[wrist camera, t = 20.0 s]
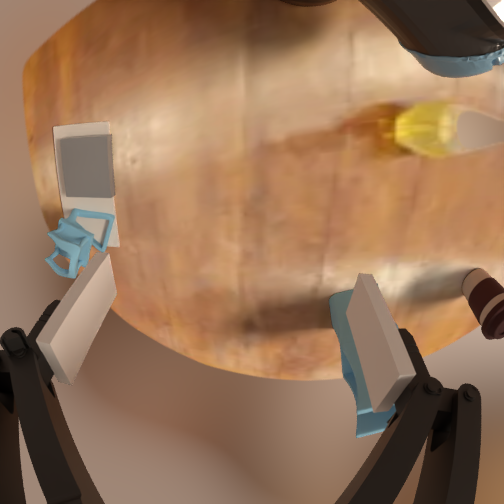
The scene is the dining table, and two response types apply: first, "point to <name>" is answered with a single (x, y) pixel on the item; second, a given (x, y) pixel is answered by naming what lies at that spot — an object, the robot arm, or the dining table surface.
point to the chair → (76, 241)
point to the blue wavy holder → (355, 369)
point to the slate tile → (88, 166)
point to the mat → (85, 203)
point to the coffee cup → (486, 302)
